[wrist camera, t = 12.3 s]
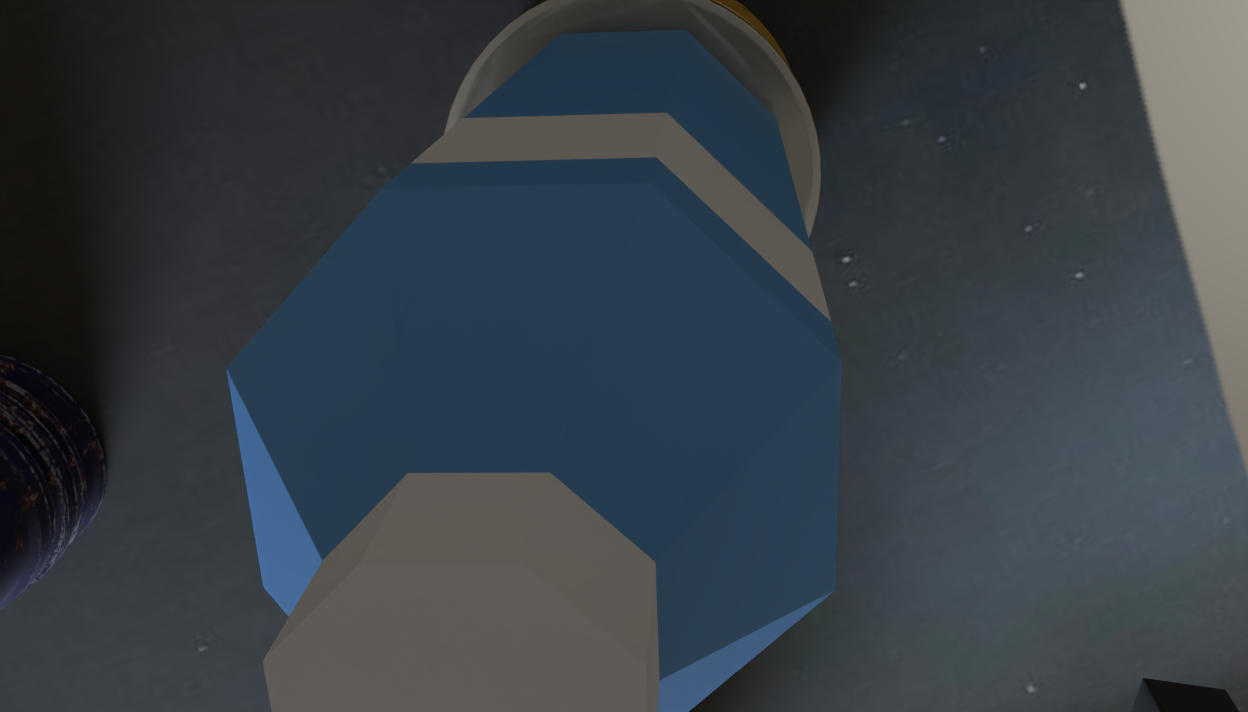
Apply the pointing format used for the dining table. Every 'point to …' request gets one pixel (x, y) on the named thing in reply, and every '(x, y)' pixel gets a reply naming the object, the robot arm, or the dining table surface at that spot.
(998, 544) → the dining table surface
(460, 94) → the tin
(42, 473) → the storage jar
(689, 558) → the water bottle
